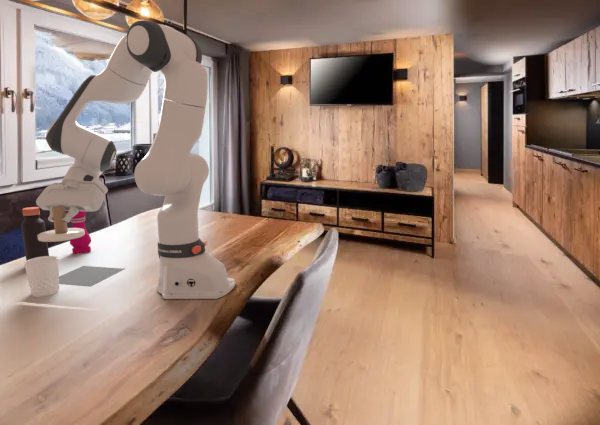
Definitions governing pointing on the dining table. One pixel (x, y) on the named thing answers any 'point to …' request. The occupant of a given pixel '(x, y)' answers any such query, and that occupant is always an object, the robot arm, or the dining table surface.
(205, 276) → the robot arm
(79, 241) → the pepper mill
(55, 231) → the lid
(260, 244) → the dining table surface
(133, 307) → the dining table surface
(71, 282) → the slate mat
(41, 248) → the bottle
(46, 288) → the white cup
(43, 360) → the dining table surface
